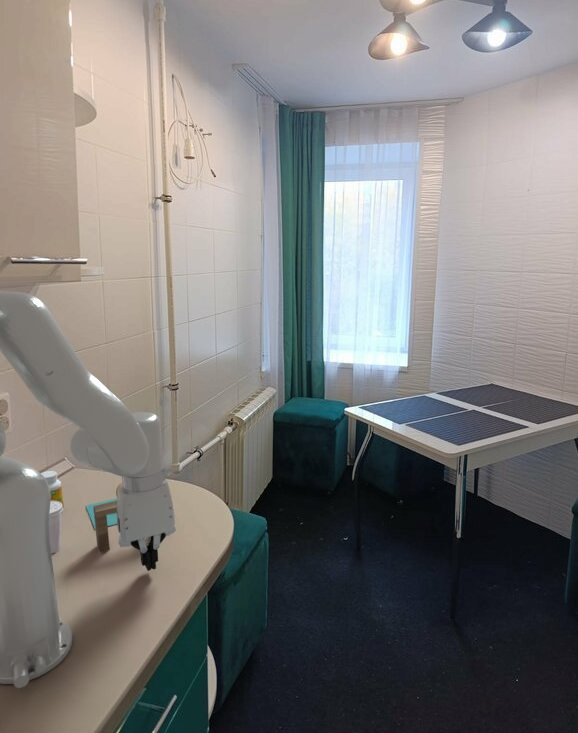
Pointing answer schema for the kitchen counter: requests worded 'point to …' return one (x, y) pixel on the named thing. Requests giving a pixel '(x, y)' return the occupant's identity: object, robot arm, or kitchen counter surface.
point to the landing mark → (110, 518)
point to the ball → (118, 487)
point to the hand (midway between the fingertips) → (150, 566)
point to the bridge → (103, 523)
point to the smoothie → (55, 525)
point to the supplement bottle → (54, 486)
